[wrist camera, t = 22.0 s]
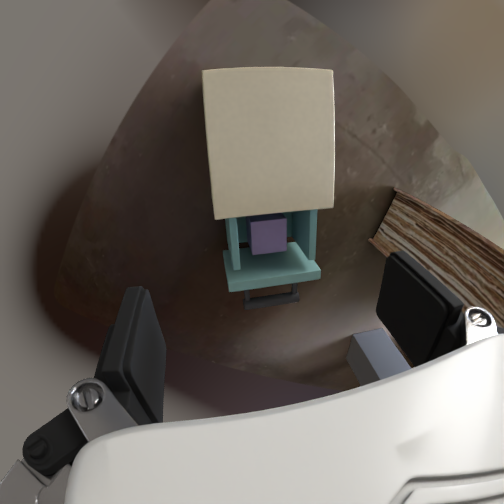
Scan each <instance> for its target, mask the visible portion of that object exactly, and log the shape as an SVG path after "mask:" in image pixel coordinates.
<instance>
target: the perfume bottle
mask: <svg viewBox="0 0 504 504" xmlns="http://www.w3.org/2000/svg"><path fill="white" fill-rule="evenodd" d="M346 359H347V361H348V363H349V365H350V367H351V368H352V370H353V372H354V374H355V376H356V378H357V380H358V381H359V383H360V385H361V386H364V385H367V384H370V383H373V382H376V381H379V380H382V379H385V378H388V377H390V376H393V375H396V374H399V373H401V372H404V371H407V370H409V369H411V367H410V366H409V364H408V363H407V362H406V360H405V359H404V357H403V356H402V354H401V353H400V352H399V350H398V349H397V347H396V346H395V345H394V343H393V342H392V341H391V339H390V338H389V336H388V335H387V334H386V332H385V331H384V330H383V328H379V329H375V330H371V331H366V332H362V333H357V334H353V336H352V340H351V343H350V347H349V350H348V354H347V357H346Z"/></svg>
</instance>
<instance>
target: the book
mask: <svg viewBox="0 0 504 504" xmlns="http://www.w3.org/2000/svg"><path fill="white" fill-rule="evenodd" d="M394 190H395V191H397V194H396V196H395V198H394V200H393V202H392V204H391V206H390V208H389V210H388V212H387V214H386V216H385V218H384V220H383V221H382V223H381V225H380V227H379V229H378V231H377V233H376V235H375V236H374V238H373V239H371V238H369V240H368V241H369V242H370V243H371V244H373V245H374V246H375V247H376V248H377V249H378V250H379V251H381V252H382V253H383V254H384V255H385V256H386V257H388V256H389V255H390V253H391V252H396V251H405V252H406V253H408V254H409V255H410V256H411V257H413V258H414V259H415V260H416V261H417V262H418V263H420V264H421V265H422V266H423V267H424V268H426V269H427V270H428V271H429V272H430V273H431V274H432V275H434V276H435V277H436V278H437V279H438V280H439V281H440V282H441V283H443V284H444V285H445V286H446V287H447V288H448V289H449V290H450V291H451V292H452V293H454V294H455V295H456V296H457V297H458V298H459V299H460V300H461V301H462V302H463V303H464V306H463V308H462V312H463V313H464V312H465V310H466V309H467V308H469V307H472V306H477V307H481V308H483V309H485V310H487V311H488V312H489V313H490V314H491V315H492V316H493V318H494V321H495V326H497V327H501V328H504V250H503V249H502V248H500V247H499V246H497V245H496V244H494V243H493V242H491V241H490V240H488V239H486V238H485V237H483V236H482V235H480V234H479V233H477V232H475V231H474V230H472V229H471V228H469V227H467V226H466V225H464V224H462V223H461V222H459V221H457V220H455V219H454V218H452V217H450V216H449V215H447V214H445V213H443V212H441V211H440V210H438V209H436V208H434V207H432V206H431V205H429V204H427V203H425V202H423V201H421V200H419V199H417V198H415V197H413V196H411V195H409V194H408V193H406V192H404V191H401V190H399V189H397V188H395V187H394Z"/></svg>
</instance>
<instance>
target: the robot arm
mask: <svg viewBox="0 0 504 504" xmlns="http://www.w3.org/2000/svg"><path fill="white" fill-rule="evenodd" d="M463 306H464V303H463V302H462V301H461V300H460V299H459V298H458V297H457V296H456V295H455V294H454V293H452V292H451V291H450V290H449V289H448V288H447V287H446V286H445V285H444V284H443V283H441V282H440V281H439V280H438V279H437V278H436V277H435V276H434V275H432V274H431V273H430V272H429V271H428V270H427V269H426V268H424V267H423V266H422V265H421V264H420V263H418V262H417V261H416V260H415V259H414V258H413V257H411V256H410V255H409V254H408V253H406V252H405V251H396V252H391V253H390V255H389V256H388V257H387V259H386V264H385V269H384V274H383V279H382V284H381V289H380V294H379V298H378V303H377V307H376V313H377V316H378V317H379V319H380V320H381V321H382V323H383V324H384V325H385V327H386V328H387V329H388V331H389V332H390V333H391V335H392V336H393V337H394V339H395V340H396V341H397V343H398V344H399V346H400V347H401V348H402V350H403V351H404V352H405V354H406V355H407V357H408V358H409V359H410V361H411V362H412V364H413V365H414V366H415V367H414V368H412V369H409V370H407V371H404V372H401V373H399V374H396V375H393V376H390V377H388V378H385V379H382V380H379V381H376V382H373V383H370V384H367V385H364V386H361V387H357V388H354V389H351V390H347V391H344V392H340V393H337V394H333V395H329V396H326V397H322V398H318V399H314V400H310V401H306V402H301V403H297V404H292V405H287V406H283V407H278V408H272V409H267V410H262V411H255V412H250V413H243V414H236V415H229V416H221V417H213V418H205V419H196V420H184V421H174V422H165V423H163V398H164V379H165V364H166V344H165V341H164V338H163V335H162V332H161V329H160V326H159V323H158V320H157V316H156V313H155V310H154V307H153V303H152V300H151V297H150V293H149V291H148V290H144V289H143V287H142V286H138V287H129V288H127V289H126V291H125V294H124V297H123V300H122V303H121V306H120V309H119V312H118V315H117V318H116V321H115V324H112V325H110V326H109V328H108V332H107V335H106V338H105V341H104V345H103V348H102V351H101V354H100V358H99V362H98V365H97V368H96V372H95V376H94V378H87V379H83V380H81V381H79V382H77V383H76V384H75V385H73V386H72V388H71V389H70V390H69V392H68V395H67V405H68V409H66V410H65V411H64V412H62V413H60V414H59V415H58V416H56V417H55V418H53V419H52V420H51V421H49V422H48V423H46V424H45V425H43V426H42V427H41V428H40V429H38V430H36V431H35V432H33V433H32V434H31V435H30V436H29V437H27V439H26V441H25V442H24V445H23V457H24V458H23V460H22V461H20V460H17V461H16V462H15V464H14V465H13V466H12V468H11V469H10V470H9V471H8V473H7V474H6V475H5V477H4V478H3V480H2V481H1V482H0V504H504V328H501V327H497V326H495V321H494V318H493V316H492V315H491V314H490V313H489V312H488V311H487V310H485V309H483V308H481V307H477V306H472V307H469V308H467V309H466V310H465V312H464V313H463V312H462V308H463Z"/></svg>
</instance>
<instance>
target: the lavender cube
mask: <svg viewBox="0 0 504 504" xmlns="http://www.w3.org/2000/svg"><path fill="white" fill-rule="evenodd" d="M246 229H247V241H248V244H249V247H250V249H251V252H252V255H258V254H266V253H274V252H282V251H287V218H286V217H285V216H284V214H283V213H272V214H262V215H253V216H246Z"/></svg>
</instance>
